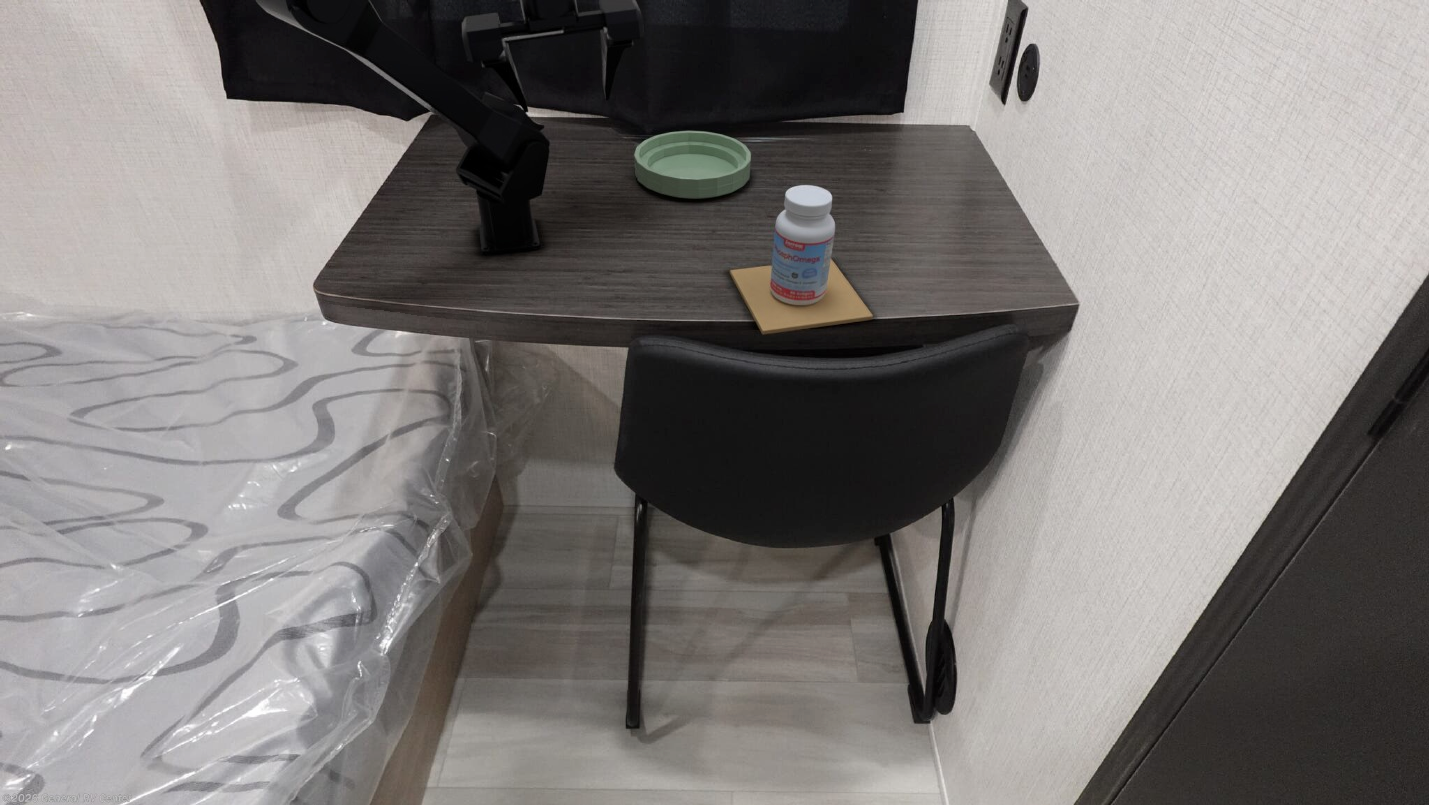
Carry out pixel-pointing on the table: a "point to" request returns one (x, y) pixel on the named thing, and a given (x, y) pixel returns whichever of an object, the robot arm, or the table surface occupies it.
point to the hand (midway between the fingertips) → (567, 104)
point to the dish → (692, 164)
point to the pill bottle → (802, 246)
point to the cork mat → (783, 317)
